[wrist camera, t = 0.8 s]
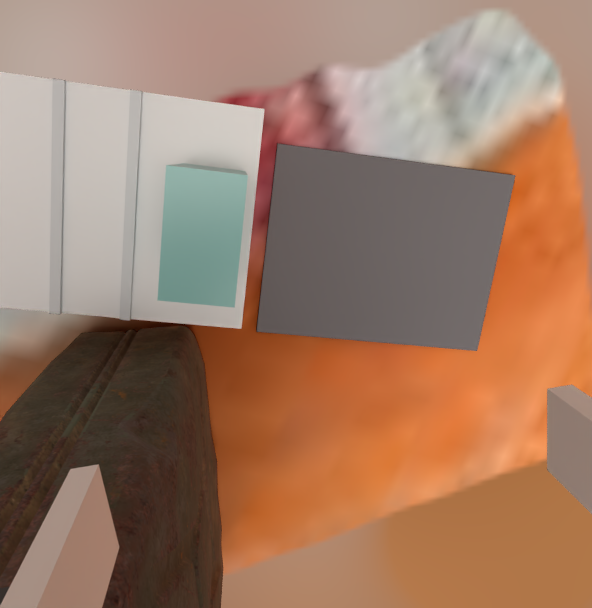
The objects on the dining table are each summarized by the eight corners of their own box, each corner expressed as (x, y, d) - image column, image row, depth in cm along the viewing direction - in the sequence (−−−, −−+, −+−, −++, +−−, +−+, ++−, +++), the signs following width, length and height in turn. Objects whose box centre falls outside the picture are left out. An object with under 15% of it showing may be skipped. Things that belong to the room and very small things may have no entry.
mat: (256, 330, 42) (256, 331, 42) (277, 143, 39) (277, 143, 39) (475, 349, 45) (477, 350, 44) (512, 175, 41) (515, 175, 41)
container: (67, 324, 41) (-338, 728, 12) (203, 312, 42) (132, 661, 13) (112, 575, 47) (-85, 1248, 18) (231, 560, 48) (224, 1178, 19)
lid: (-44, 298, 33) (-145, 350, 24) (-51, 66, 29) (-170, 27, 21) (241, 324, 35) (243, 379, 26) (263, 110, 32) (274, 93, 23)
